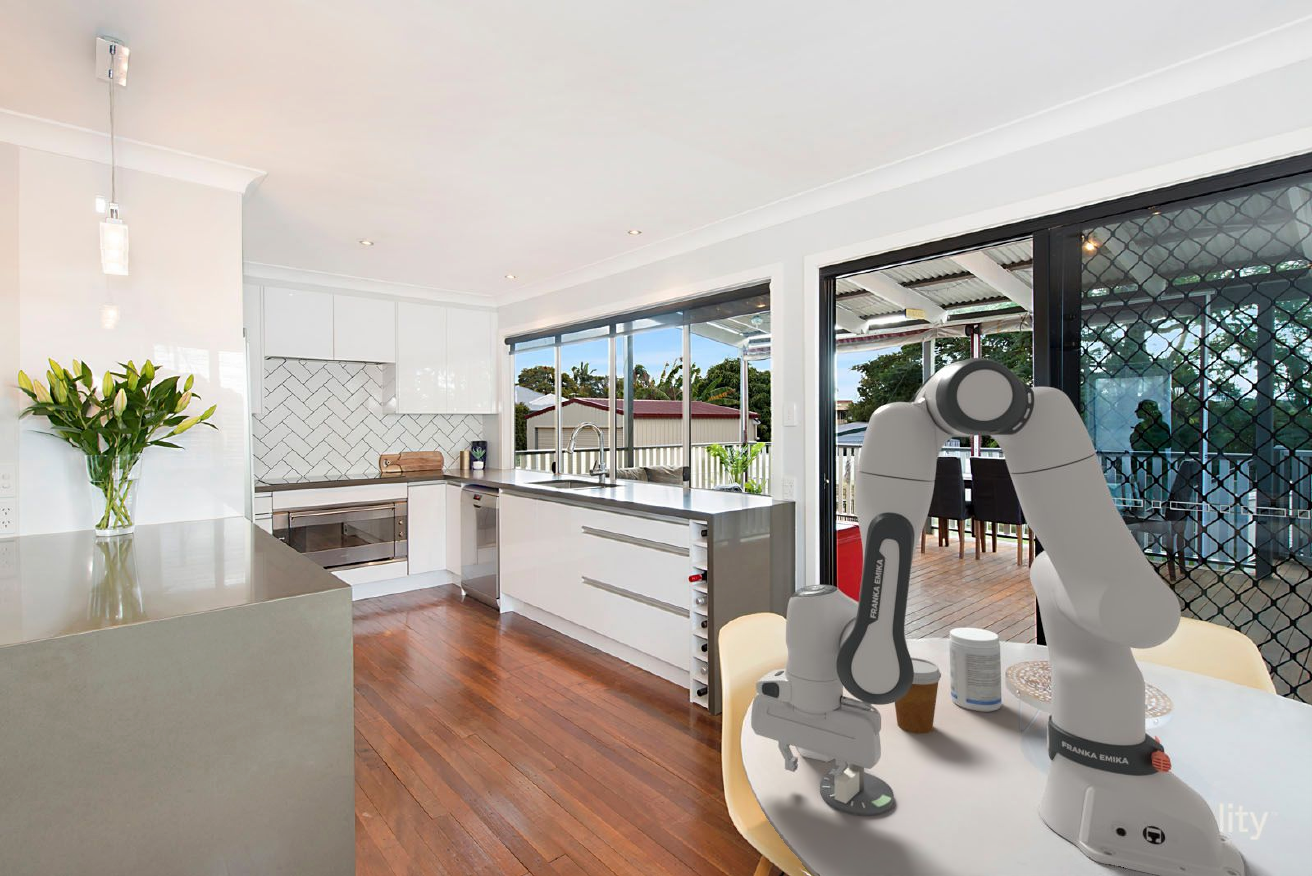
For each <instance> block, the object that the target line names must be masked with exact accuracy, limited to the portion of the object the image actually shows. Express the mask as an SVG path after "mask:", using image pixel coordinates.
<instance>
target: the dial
mask: <svg viewBox="0 0 1312 876" xmlns="http://www.w3.org/2000/svg"><path fill="white" fill-rule="evenodd" d="M845 770H846V769H844V770H843V771H842V773H843V772H844V771H845ZM828 774H829V773H827V774H825V775H823V777H822V778H820V781H819V794H820V796H821V798H822V799H823V801H824V802H825V803H827V804H828V805H829V806H830V807H832V808H834V809H835V810H837V811H840V812H842V813H846V814H849V815H853V816H859V817H875V816H880V815H883V814H886V813H887V812H889V811H890V810H891V809H892V808H893V806H894V803H895V799H894V798H895V795H894V791H893V789H892V787H891V786H890V784H889V783H887V782H886V781H884V780H883V779H881V778H880V777H878V776H876V775H873V774H871V773H867V772H864V790H862V791H859V792H858V793H857V794H856V795H855V796H854V797H852V798H851V799H850V800H849V801H848V802H847V803H843V802H841V801H838V800H836V799H835V786H834V785H831V784H829V783H828V780H829V778H828Z"/></svg>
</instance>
